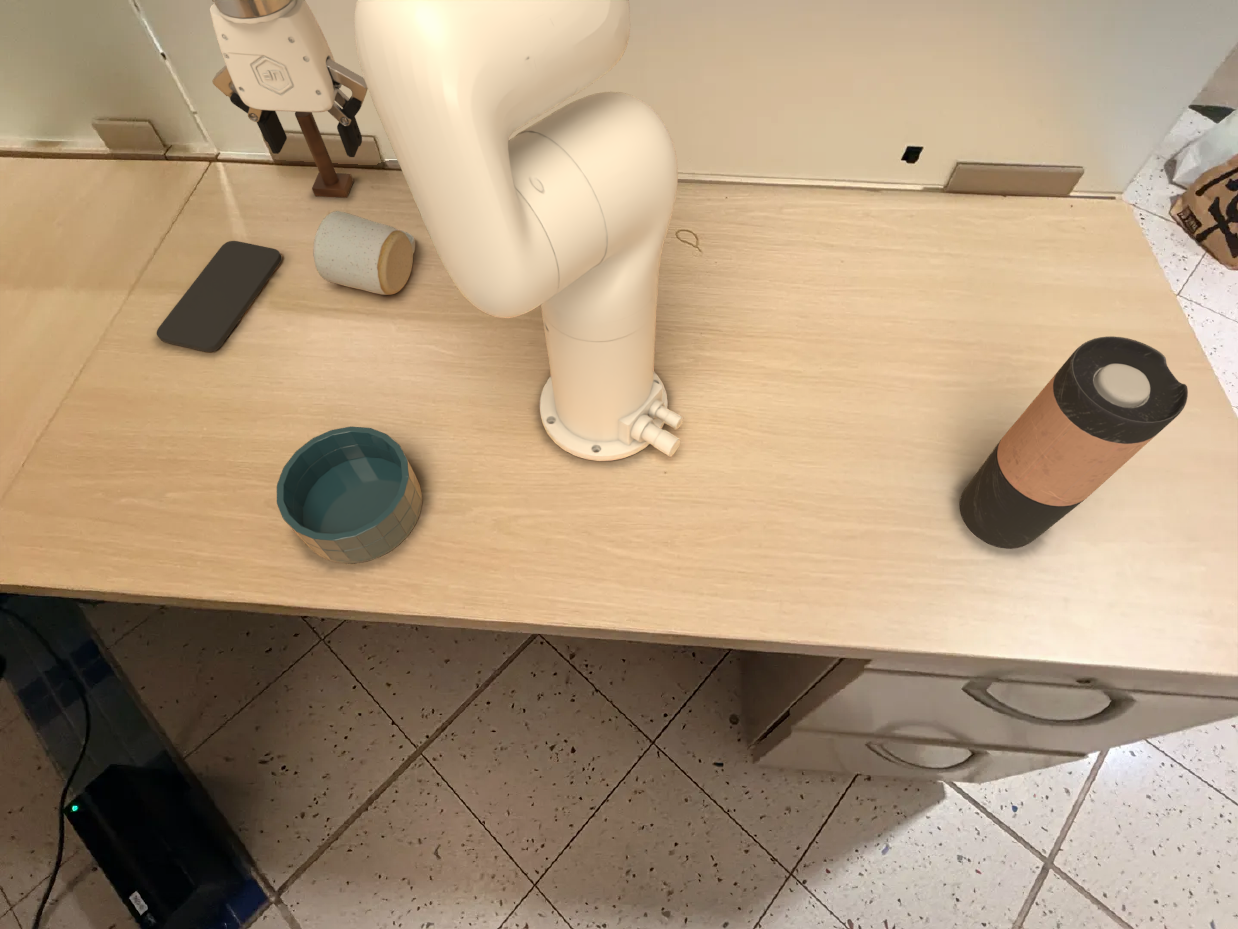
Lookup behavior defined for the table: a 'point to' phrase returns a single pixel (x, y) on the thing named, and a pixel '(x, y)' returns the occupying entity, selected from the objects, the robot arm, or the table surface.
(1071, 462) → the travel mug
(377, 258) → the ceramic mug
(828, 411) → the table surface
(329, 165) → the wooden stamp
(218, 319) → the phone
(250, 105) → the robot arm
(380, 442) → the bowl
